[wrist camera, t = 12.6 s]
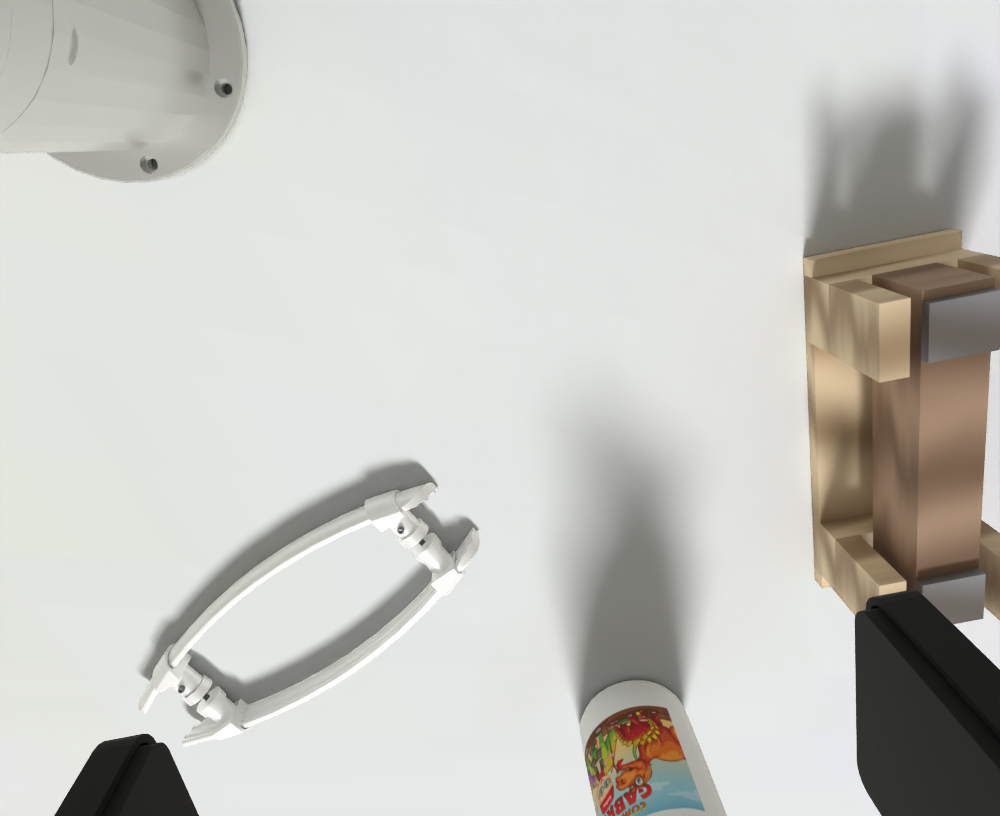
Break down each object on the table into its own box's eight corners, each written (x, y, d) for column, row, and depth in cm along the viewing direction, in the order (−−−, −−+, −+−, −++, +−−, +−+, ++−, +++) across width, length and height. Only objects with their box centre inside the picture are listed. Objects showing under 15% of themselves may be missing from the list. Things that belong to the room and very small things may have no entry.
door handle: (120, 660, 49) (405, 448, 45) (225, 746, 52) (502, 556, 48) (101, 688, 46) (402, 467, 42) (213, 777, 49) (504, 579, 45)
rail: (871, 274, 39) (929, 293, 34) (936, 262, 39) (1003, 279, 34) (873, 585, 46) (921, 637, 41) (927, 575, 46) (982, 625, 41)
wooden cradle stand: (803, 257, 41) (879, 283, 34) (950, 228, 41) (1059, 248, 34) (815, 579, 49) (879, 658, 42) (939, 556, 49) (1026, 631, 41)
